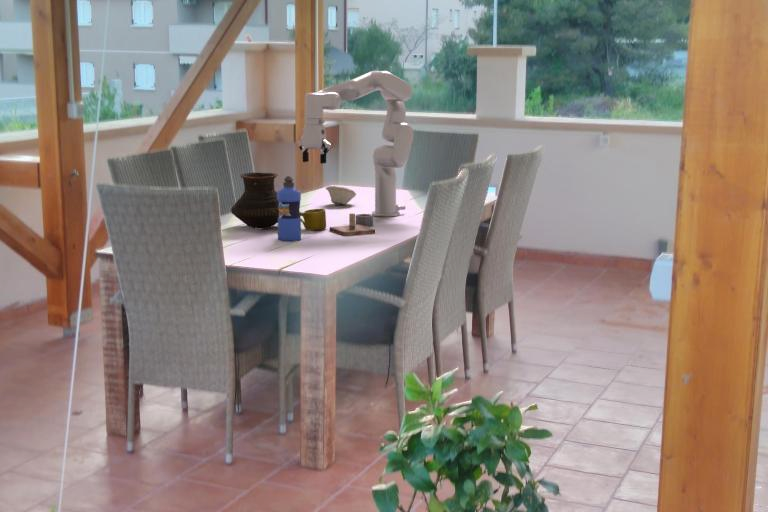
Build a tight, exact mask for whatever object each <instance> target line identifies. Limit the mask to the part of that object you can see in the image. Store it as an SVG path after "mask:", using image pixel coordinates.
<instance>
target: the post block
mask: <svg viewBox="0 0 768 512" xmlns="http://www.w3.org/2000/svg"><path fill="white" fill-rule="evenodd" d="M348 216H349V220H348V222H349V223H348V225H340V226H339V225H337V226H329V232H332V233H335V234H339V235H341V236H344V237H347V236H348V237H349V236H358V235H359V236H360V235H371V234H372V235H373V234H376V229H374V228H371V227H366V226H362V225H356V213H349V215H348Z"/></svg>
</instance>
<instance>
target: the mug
mask: <svg viewBox="0 0 768 512" xmlns="http://www.w3.org/2000/svg"><path fill="white" fill-rule="evenodd" d="M326 214H327V213H326V209H325V208H313V209H306V210H305V211H304V212H302V211H300V217H302V218H303V219H302V218H301V223H302V224H303V226H304V228H305V230H308V231H313V232H314V231H315V232H318V231H322V230H326V228H327V216H326Z"/></svg>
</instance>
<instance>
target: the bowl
mask: <svg viewBox="0 0 768 512" xmlns="http://www.w3.org/2000/svg"><path fill="white" fill-rule="evenodd" d="M325 190H327V192H328V193H329V197H330V202H331V203H333V204H334V205H340V204H341V205H344V206H345V205H347V204H348V203H349V202H350V201H352V199H354V198H356V195H357V193H356V192H355V190H353V189H350V188H349V187H346V186H345V187H344V186H336V185H328V186H326V187H325Z"/></svg>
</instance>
